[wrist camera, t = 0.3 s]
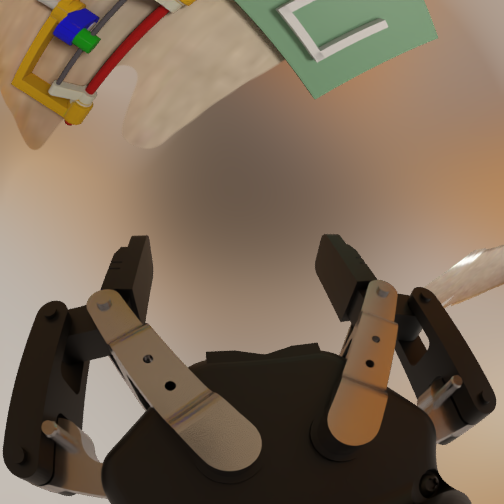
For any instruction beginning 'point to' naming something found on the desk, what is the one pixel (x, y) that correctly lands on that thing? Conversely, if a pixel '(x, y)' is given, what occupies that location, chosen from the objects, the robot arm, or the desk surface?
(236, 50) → the desk surface
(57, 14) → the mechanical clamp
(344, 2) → the green plate with u-rail
